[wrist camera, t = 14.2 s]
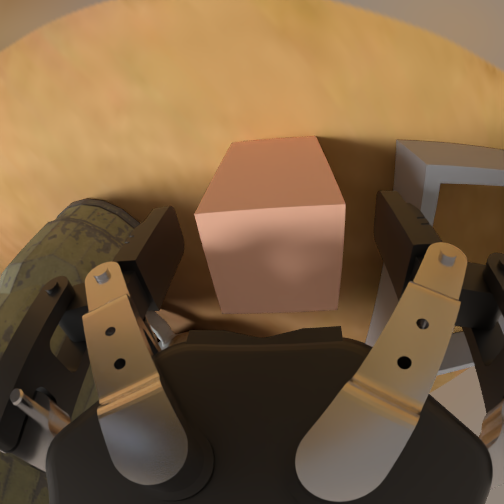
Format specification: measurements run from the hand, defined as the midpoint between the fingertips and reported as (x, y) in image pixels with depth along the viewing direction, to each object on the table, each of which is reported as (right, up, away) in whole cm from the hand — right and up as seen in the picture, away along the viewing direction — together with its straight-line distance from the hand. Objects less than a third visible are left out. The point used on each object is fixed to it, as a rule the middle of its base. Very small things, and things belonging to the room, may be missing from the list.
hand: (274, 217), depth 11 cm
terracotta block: (0, +2, +3) cm, 4 cm away
